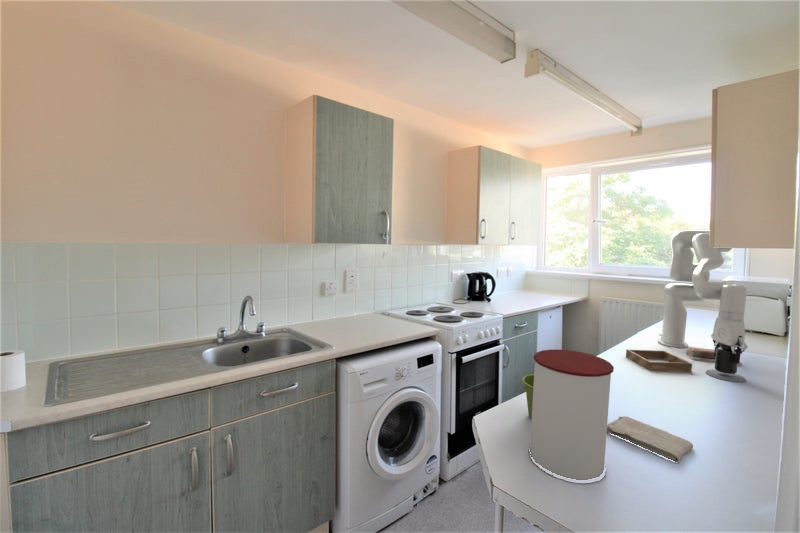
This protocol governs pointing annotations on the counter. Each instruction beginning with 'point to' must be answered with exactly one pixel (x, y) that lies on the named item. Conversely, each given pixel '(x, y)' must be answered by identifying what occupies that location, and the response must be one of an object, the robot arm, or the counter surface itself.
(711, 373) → the mat
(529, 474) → the counter surface
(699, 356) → the packaged product
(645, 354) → the bin
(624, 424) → the washcloth
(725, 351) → the supplement bottle
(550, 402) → the container
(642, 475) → the counter surface
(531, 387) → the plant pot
